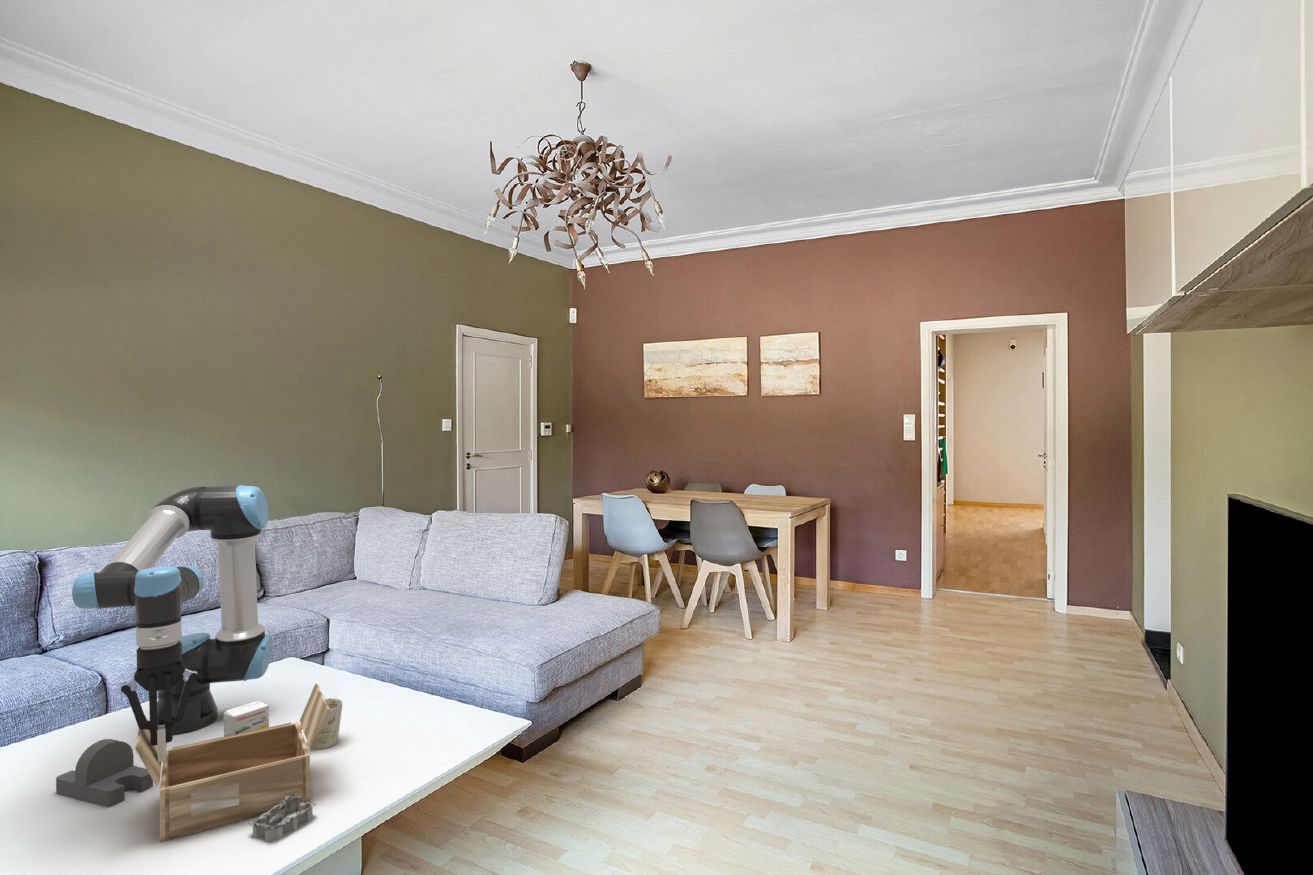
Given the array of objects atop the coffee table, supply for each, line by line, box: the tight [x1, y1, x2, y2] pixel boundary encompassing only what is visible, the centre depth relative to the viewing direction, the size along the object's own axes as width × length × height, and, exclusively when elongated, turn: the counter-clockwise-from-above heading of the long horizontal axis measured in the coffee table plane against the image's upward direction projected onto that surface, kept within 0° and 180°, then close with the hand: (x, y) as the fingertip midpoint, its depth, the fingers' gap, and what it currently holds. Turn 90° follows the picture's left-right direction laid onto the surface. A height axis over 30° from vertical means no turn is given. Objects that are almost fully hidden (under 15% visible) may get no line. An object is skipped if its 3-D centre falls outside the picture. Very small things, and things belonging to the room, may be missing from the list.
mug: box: [299, 698, 343, 750], centre depth 172 cm, size 8×13×10 cm, turn 161°
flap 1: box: [134, 715, 163, 787], centre depth 139 cm, size 18×9×1 cm
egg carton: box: [248, 792, 317, 842], centre depth 138 cm, size 11×8×4 cm
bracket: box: [55, 738, 154, 808], centre depth 152 cm, size 10×18×11 cm, turn 71°
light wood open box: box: [159, 721, 311, 843], centre depth 148 cm, size 22×26×10 cm
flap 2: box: [299, 683, 329, 751], centre depth 156 cm, size 18×9×1 cm
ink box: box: [223, 700, 270, 737], centre depth 168 cm, size 8×5×12 cm, turn 147°
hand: (162, 758), depth 140 cm, fingers closed
